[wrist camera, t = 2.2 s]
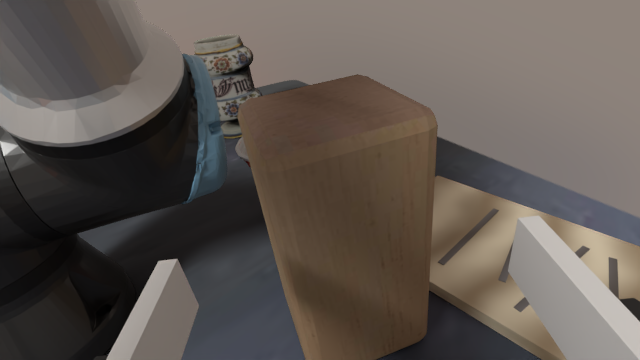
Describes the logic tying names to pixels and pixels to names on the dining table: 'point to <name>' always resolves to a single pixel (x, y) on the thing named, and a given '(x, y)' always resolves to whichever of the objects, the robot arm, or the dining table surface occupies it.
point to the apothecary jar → (228, 77)
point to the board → (494, 256)
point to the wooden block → (347, 211)
